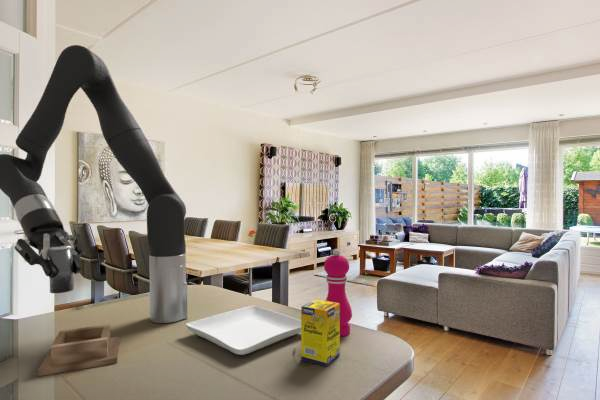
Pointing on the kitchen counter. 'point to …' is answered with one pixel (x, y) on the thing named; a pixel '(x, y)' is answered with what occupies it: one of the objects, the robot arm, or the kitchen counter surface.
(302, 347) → the supplement box
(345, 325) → the pepper mill
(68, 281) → the dark grey piece
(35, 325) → the kitchen counter surface
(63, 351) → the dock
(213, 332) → the salad plate
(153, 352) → the kitchen counter surface
